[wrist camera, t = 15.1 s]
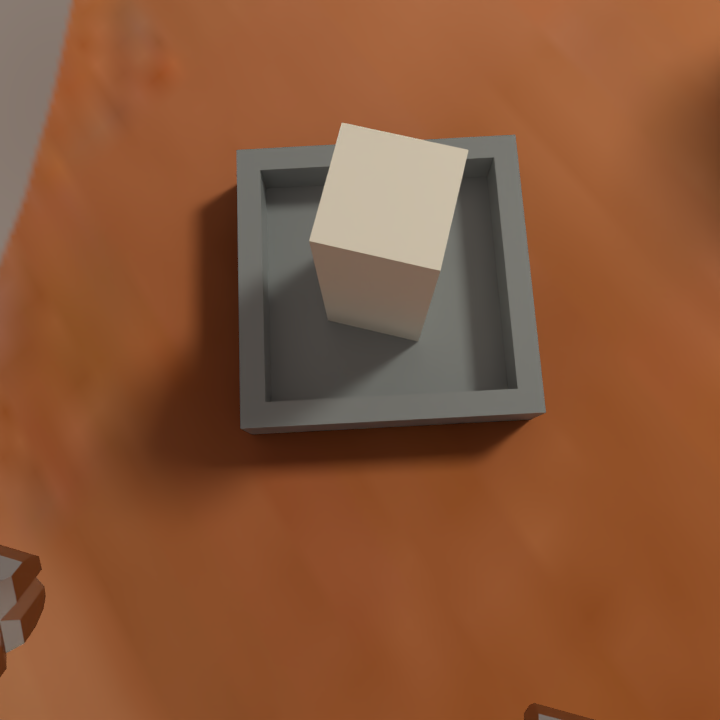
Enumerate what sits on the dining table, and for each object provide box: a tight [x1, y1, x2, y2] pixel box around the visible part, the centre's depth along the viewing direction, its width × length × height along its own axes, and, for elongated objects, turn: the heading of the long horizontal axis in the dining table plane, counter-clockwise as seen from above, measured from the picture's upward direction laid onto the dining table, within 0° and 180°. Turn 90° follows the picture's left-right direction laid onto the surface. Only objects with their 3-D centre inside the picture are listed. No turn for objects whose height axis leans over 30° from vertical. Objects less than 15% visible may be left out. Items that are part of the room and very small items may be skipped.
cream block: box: [309, 123, 468, 341], centre depth 24 cm, size 4×4×9 cm
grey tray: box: [237, 135, 546, 434], centre depth 28 cm, size 12×12×2 cm
